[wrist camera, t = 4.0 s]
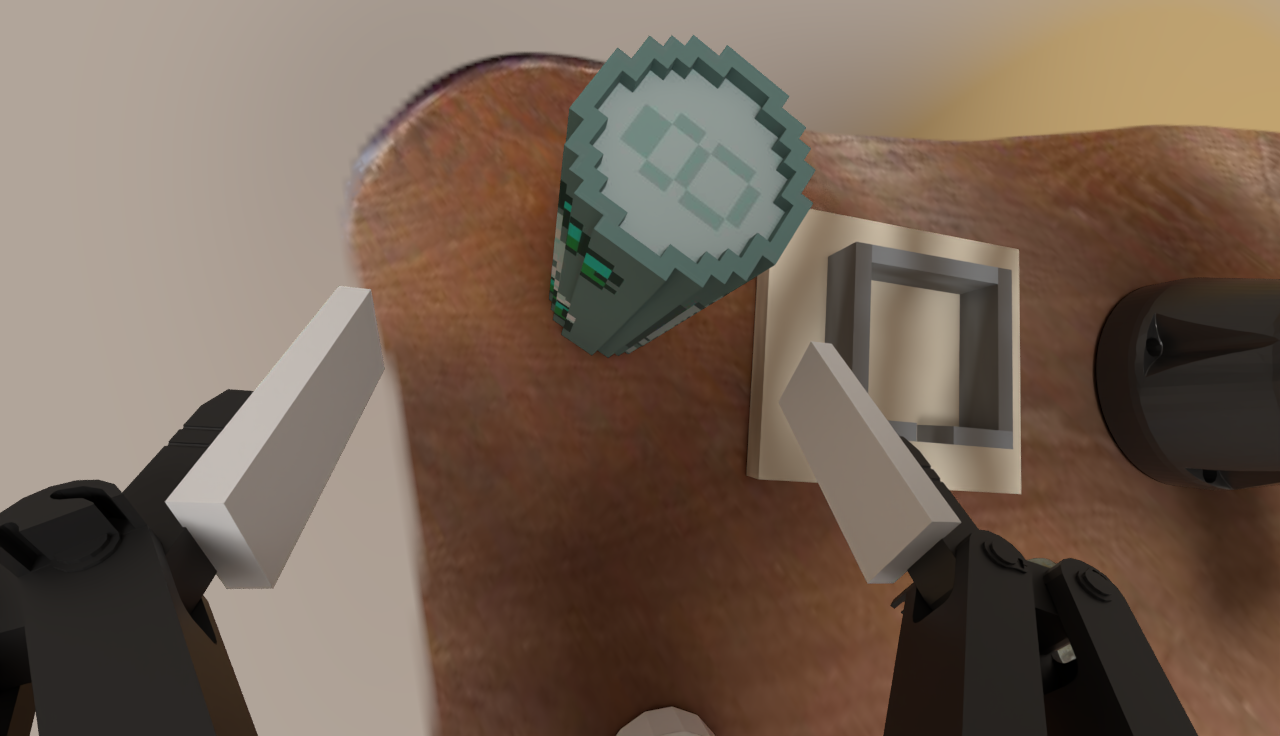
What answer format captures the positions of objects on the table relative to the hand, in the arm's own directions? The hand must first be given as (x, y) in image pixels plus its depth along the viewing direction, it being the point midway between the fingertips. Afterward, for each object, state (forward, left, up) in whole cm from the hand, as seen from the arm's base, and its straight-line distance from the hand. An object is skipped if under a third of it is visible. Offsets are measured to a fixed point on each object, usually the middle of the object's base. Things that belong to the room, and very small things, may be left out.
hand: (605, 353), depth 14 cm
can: (-3, -3, -11) cm, 12 cm away
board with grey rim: (-18, +7, -11) cm, 23 cm away
